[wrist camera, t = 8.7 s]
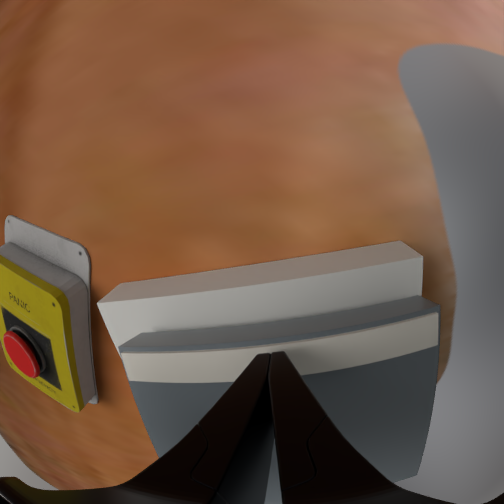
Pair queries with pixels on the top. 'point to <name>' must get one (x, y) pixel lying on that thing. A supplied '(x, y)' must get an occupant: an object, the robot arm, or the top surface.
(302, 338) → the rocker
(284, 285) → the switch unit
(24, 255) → the emergency button
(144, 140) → the top surface
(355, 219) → the top surface
